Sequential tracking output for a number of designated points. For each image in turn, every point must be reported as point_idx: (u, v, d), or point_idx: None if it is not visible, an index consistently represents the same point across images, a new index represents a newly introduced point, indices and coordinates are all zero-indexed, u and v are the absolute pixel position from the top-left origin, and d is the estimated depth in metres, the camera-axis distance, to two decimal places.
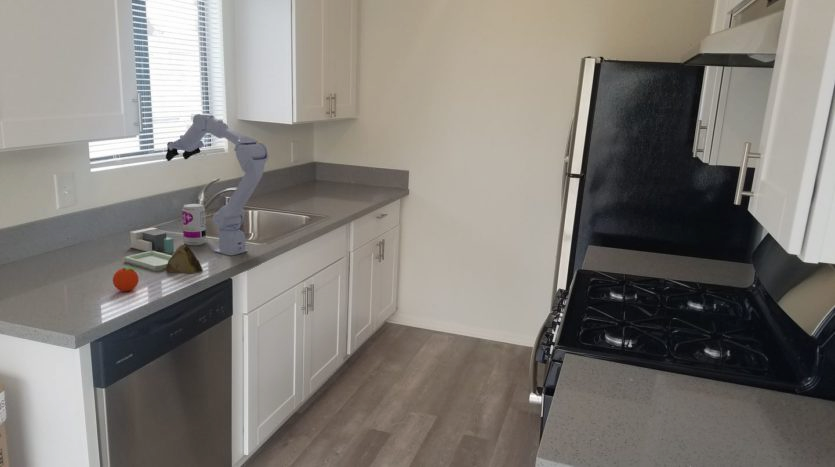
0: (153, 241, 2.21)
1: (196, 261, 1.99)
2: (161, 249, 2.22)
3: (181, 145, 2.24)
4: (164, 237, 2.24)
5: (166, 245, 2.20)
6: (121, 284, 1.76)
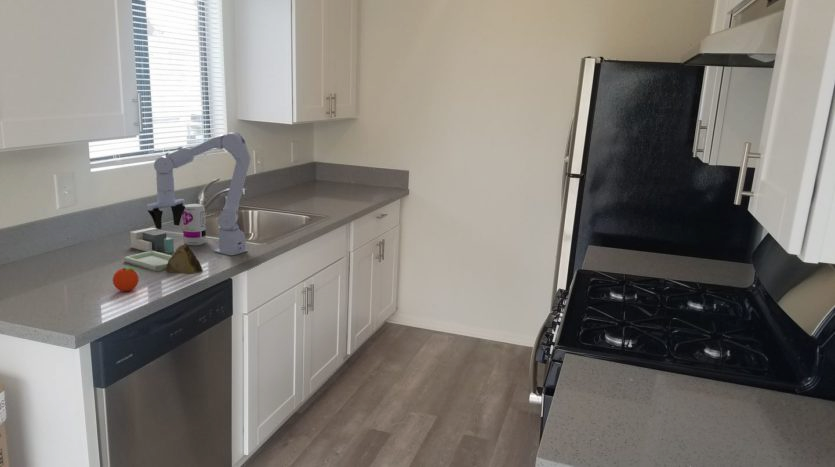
0: (153, 241, 2.21)
1: (196, 261, 1.99)
2: (161, 249, 2.22)
3: (160, 203, 2.15)
4: (164, 237, 2.24)
5: (166, 245, 2.20)
6: (122, 284, 1.76)
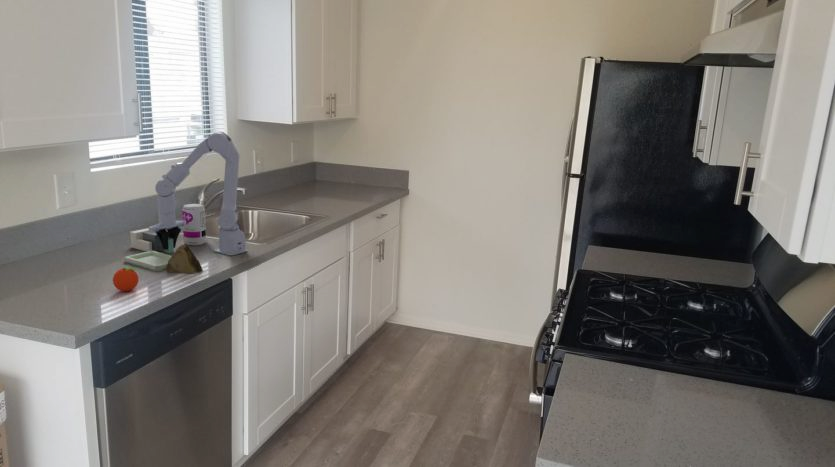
0: (153, 241, 2.21)
1: (196, 261, 1.99)
2: (161, 249, 2.22)
3: (161, 225, 2.17)
4: None
5: None
6: (122, 284, 1.76)
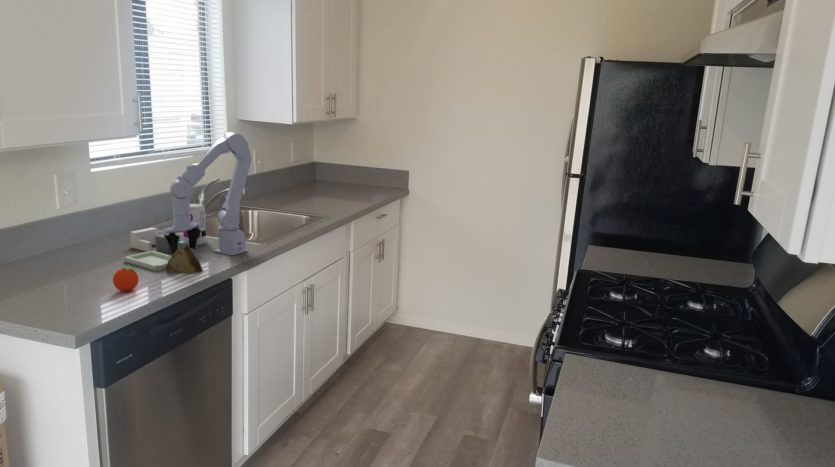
0: (166, 244, 2.18)
1: (196, 261, 1.99)
2: None
3: (176, 227, 2.12)
4: None
5: None
6: (122, 284, 1.76)
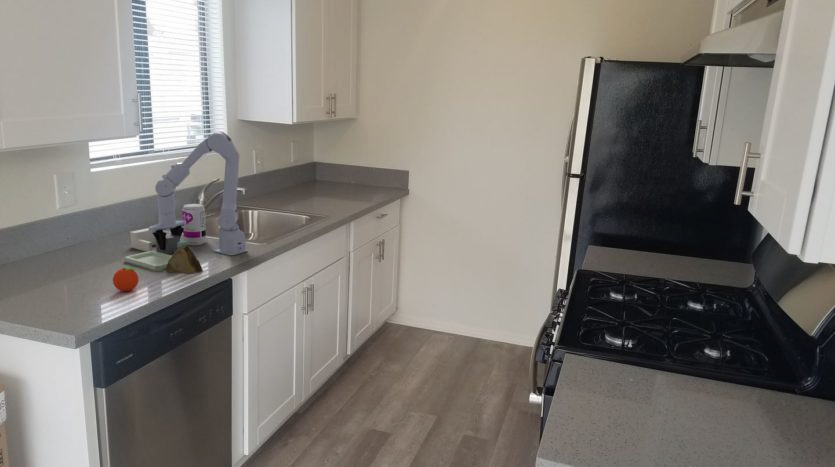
0: (166, 244, 2.18)
1: (196, 261, 1.99)
2: (174, 252, 2.19)
3: (161, 225, 2.17)
4: (177, 240, 2.21)
5: None
6: (122, 284, 1.76)
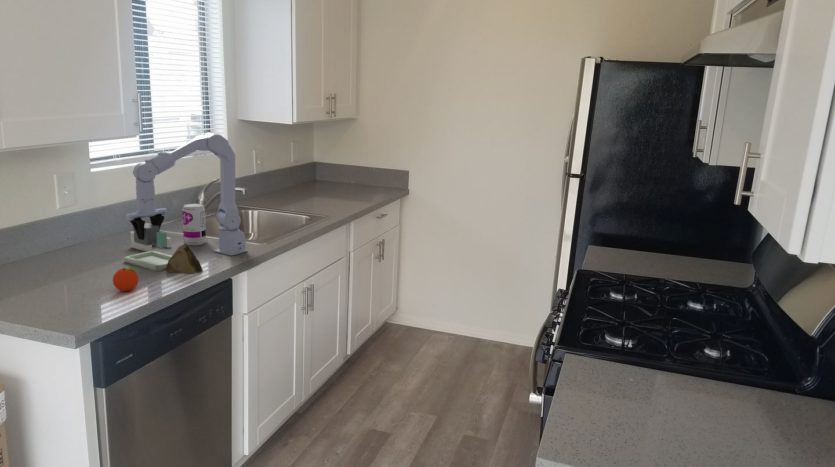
0: (145, 235, 2.04)
1: (196, 261, 1.99)
2: (153, 243, 2.05)
3: (140, 213, 2.03)
4: (157, 230, 2.07)
5: (159, 239, 2.03)
6: (122, 284, 1.76)
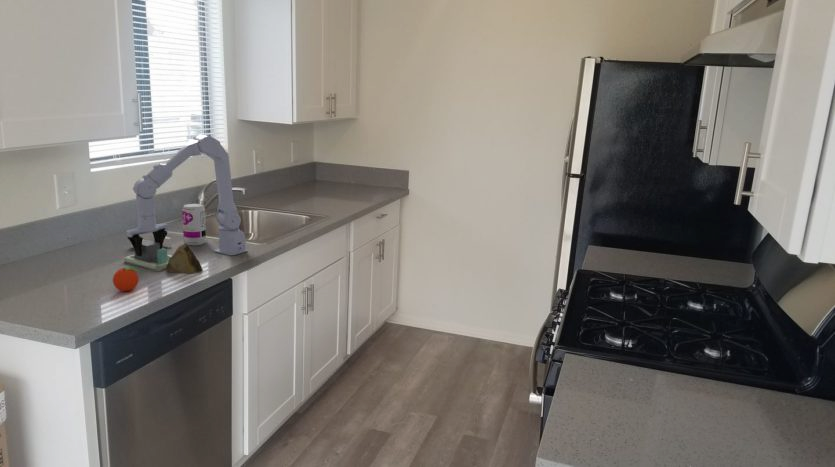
0: (145, 252, 2.05)
1: (196, 261, 1.99)
2: (154, 261, 2.06)
3: (140, 229, 2.03)
4: (157, 248, 2.08)
5: (159, 256, 2.04)
6: (122, 284, 1.76)
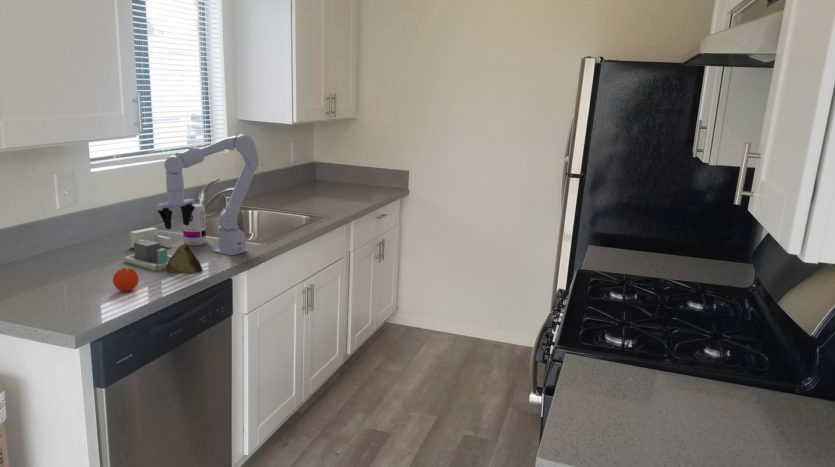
0: (145, 252, 2.05)
1: (196, 261, 1.99)
2: (154, 261, 2.06)
3: (170, 203, 2.13)
4: (157, 248, 2.08)
5: (159, 256, 2.04)
6: (122, 284, 1.76)
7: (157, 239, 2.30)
